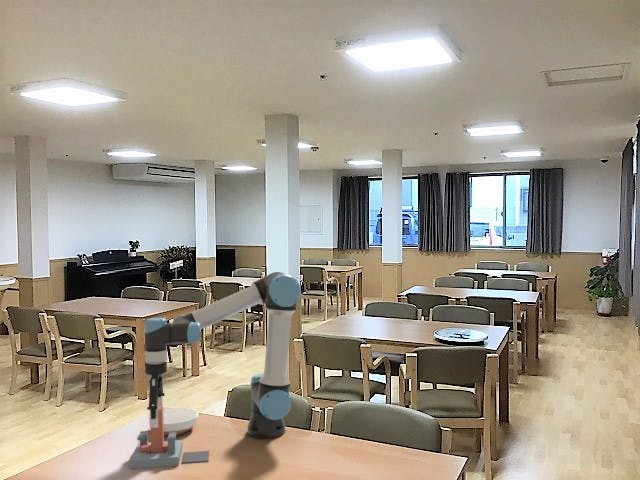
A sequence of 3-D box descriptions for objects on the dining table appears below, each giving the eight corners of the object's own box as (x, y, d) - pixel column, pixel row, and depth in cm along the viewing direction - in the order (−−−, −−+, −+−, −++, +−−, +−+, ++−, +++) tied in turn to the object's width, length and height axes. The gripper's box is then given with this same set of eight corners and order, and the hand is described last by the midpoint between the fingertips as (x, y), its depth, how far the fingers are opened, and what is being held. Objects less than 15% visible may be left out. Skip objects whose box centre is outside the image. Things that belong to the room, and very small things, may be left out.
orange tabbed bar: (174, 454, 207) (174, 405, 206) (173, 459, 203) (172, 408, 202) (141, 457, 205) (140, 407, 205) (140, 461, 201) (139, 410, 201)
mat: (209, 451, 209) (209, 450, 209) (208, 461, 200) (208, 460, 200) (184, 453, 208) (184, 452, 208) (181, 463, 199) (181, 462, 199)
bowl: (192, 439, 222) (192, 423, 222) (142, 439, 222) (142, 423, 222) (203, 422, 242) (203, 407, 241) (157, 422, 242) (157, 407, 242)
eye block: (182, 447, 213) (182, 425, 213) (178, 465, 197) (178, 441, 197) (138, 451, 211) (137, 428, 210) (130, 469, 195) (130, 445, 195)
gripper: (150, 354, 215) (150, 410, 215) (139, 370, 190) (140, 433, 191) (170, 353, 216) (170, 409, 216) (162, 369, 191) (163, 432, 192)
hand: (156, 421), depth 203 cm, fingers open, 13 cm apart
